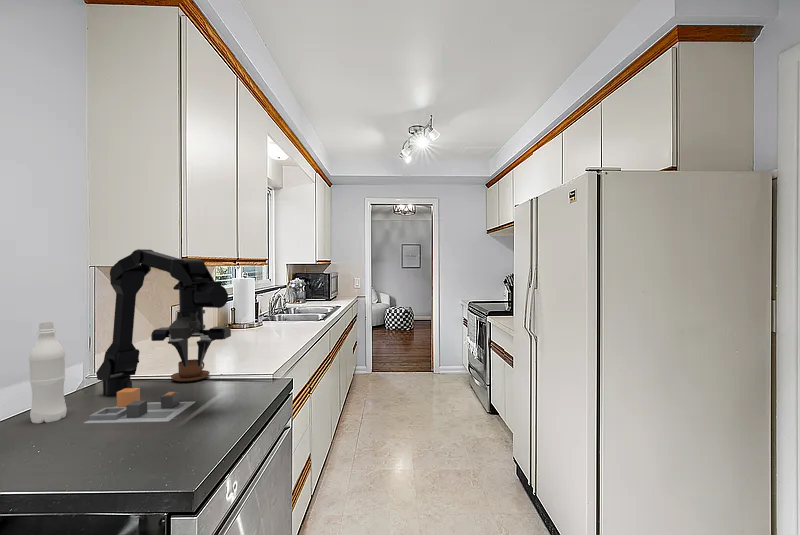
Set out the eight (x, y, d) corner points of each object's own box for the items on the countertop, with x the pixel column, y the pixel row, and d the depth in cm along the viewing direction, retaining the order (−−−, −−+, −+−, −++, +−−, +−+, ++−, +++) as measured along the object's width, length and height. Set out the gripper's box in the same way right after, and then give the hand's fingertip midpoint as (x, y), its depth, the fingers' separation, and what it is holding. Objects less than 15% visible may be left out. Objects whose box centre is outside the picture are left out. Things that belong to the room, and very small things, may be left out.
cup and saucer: (181, 375, 167) (181, 358, 167) (215, 375, 167) (215, 357, 167) (163, 384, 155) (163, 365, 155) (200, 384, 155) (199, 365, 155)
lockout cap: (116, 407, 125) (116, 392, 125) (125, 402, 129) (125, 388, 129) (132, 407, 125) (131, 392, 125) (140, 402, 129) (140, 388, 129)
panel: (83, 429, 113) (83, 410, 113) (121, 408, 129) (121, 391, 129) (168, 427, 113) (167, 408, 113) (196, 407, 129) (195, 390, 129)
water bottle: (73, 421, 119) (71, 321, 119) (44, 431, 112) (41, 325, 112) (53, 418, 122) (51, 320, 121) (23, 428, 115) (20, 324, 114)
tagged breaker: (161, 408, 123) (160, 395, 123) (168, 403, 127) (168, 391, 127) (172, 407, 123) (172, 395, 123) (179, 403, 127) (179, 391, 127)
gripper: (139, 310, 117) (140, 374, 117) (215, 309, 117) (217, 372, 117) (161, 306, 128) (162, 364, 128) (231, 305, 128) (232, 363, 129)
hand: (192, 366), depth 125 cm, fingers open, 3 cm apart
